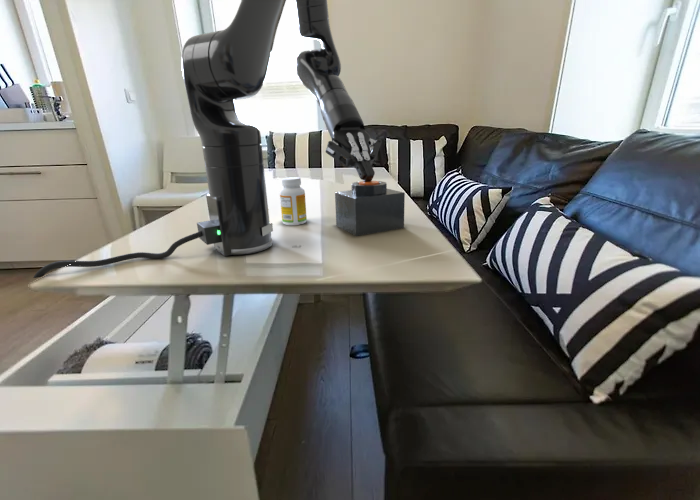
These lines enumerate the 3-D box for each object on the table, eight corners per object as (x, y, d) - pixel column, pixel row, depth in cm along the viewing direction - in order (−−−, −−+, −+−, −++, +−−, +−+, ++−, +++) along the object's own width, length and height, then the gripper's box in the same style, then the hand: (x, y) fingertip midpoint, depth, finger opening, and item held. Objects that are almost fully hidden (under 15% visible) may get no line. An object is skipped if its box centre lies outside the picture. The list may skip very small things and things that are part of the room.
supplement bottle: (305, 218, 82) (302, 176, 79) (308, 224, 77) (305, 179, 74) (281, 220, 81) (277, 177, 78) (283, 226, 76) (279, 180, 73)
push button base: (356, 236, 68) (355, 188, 65) (336, 226, 75) (334, 183, 72) (404, 228, 72) (405, 183, 69) (380, 219, 80) (380, 178, 77)
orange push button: (365, 194, 69) (365, 184, 68) (355, 191, 72) (355, 181, 72) (382, 192, 71) (382, 182, 70) (372, 190, 74) (372, 180, 73)
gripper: (315, 102, 72) (344, 169, 65) (373, 102, 77) (404, 164, 70) (308, 130, 78) (334, 194, 71) (362, 128, 83) (390, 187, 77)
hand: (369, 179), depth 71 cm, fingers closed
